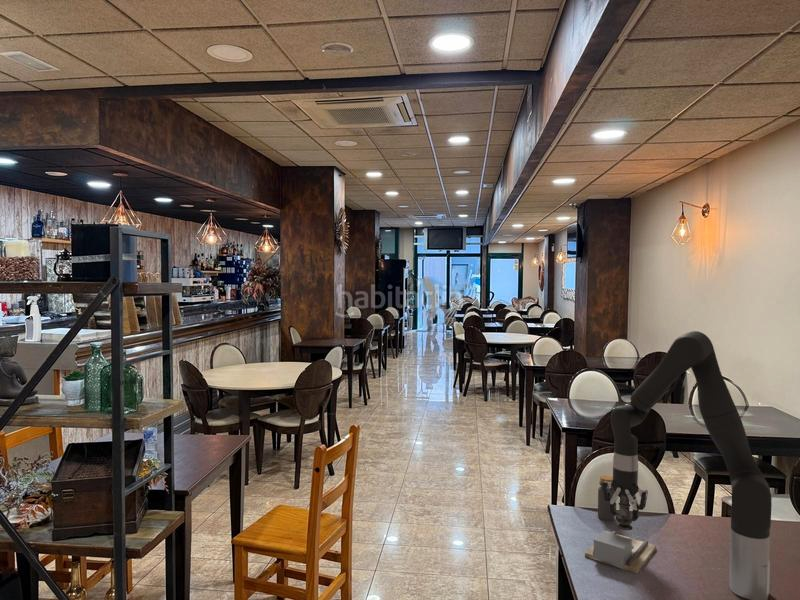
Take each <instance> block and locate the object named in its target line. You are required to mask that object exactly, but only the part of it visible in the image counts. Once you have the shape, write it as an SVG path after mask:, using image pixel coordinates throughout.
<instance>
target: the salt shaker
mask: <svg viewBox="0 0 800 600" xmlns="http://www.w3.org/2000/svg"><path fill="white" fill-rule="evenodd" d="M618 505H619V510H618V511H616V513H615V517H614V518H615V521H616V523H615V525H614V526H615V528H617V529H619V530H621V531H622V530H623V531H631V530H633V526H632V525H631V524H632V523H633V521H632V514H631V512H630V507H632V504H631V503H630V501H629V499H626V497H625V496H623V495H622V496H621V497H619V502H618Z"/></svg>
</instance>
